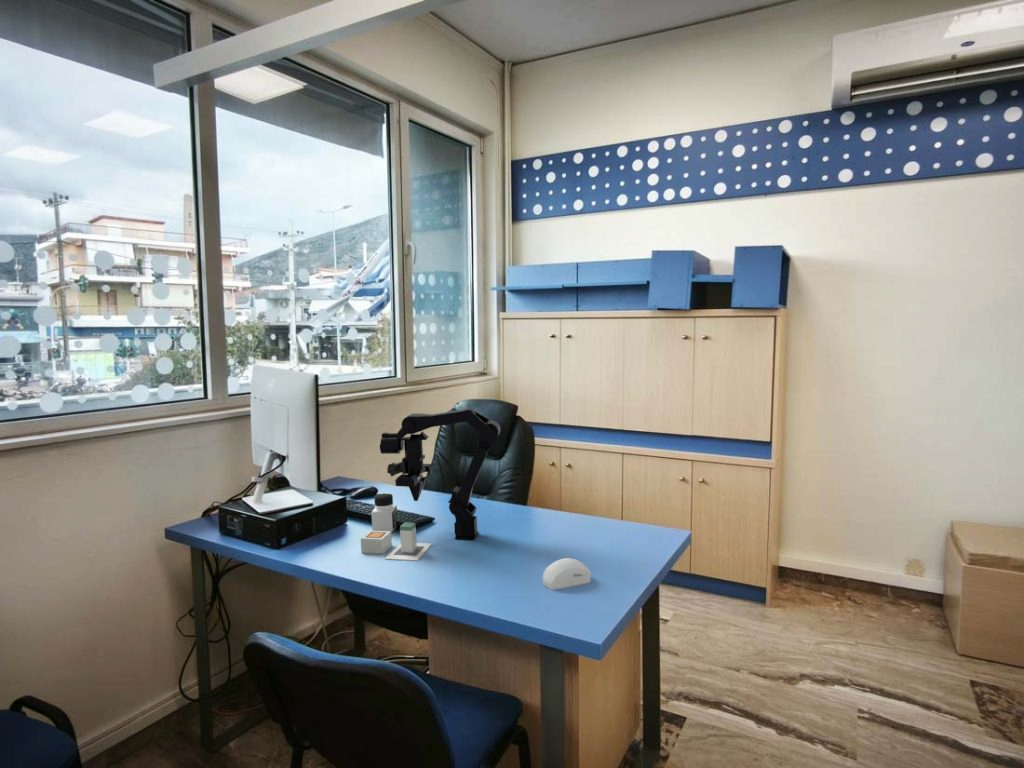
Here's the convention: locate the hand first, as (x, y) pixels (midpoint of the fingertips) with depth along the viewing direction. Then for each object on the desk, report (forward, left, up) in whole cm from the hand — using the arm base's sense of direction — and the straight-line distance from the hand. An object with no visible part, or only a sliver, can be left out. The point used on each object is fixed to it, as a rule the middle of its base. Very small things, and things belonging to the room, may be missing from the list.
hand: (416, 500), depth 198 cm
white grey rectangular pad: (-2, +13, -12) cm, 18 cm away
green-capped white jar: (-2, +13, -12) cm, 17 cm away
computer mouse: (-52, +28, -12) cm, 60 cm away
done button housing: (+9, +12, -12) cm, 19 cm away
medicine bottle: (+14, -6, -12) cm, 20 cm away
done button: (+9, +12, -10) cm, 18 cm away
